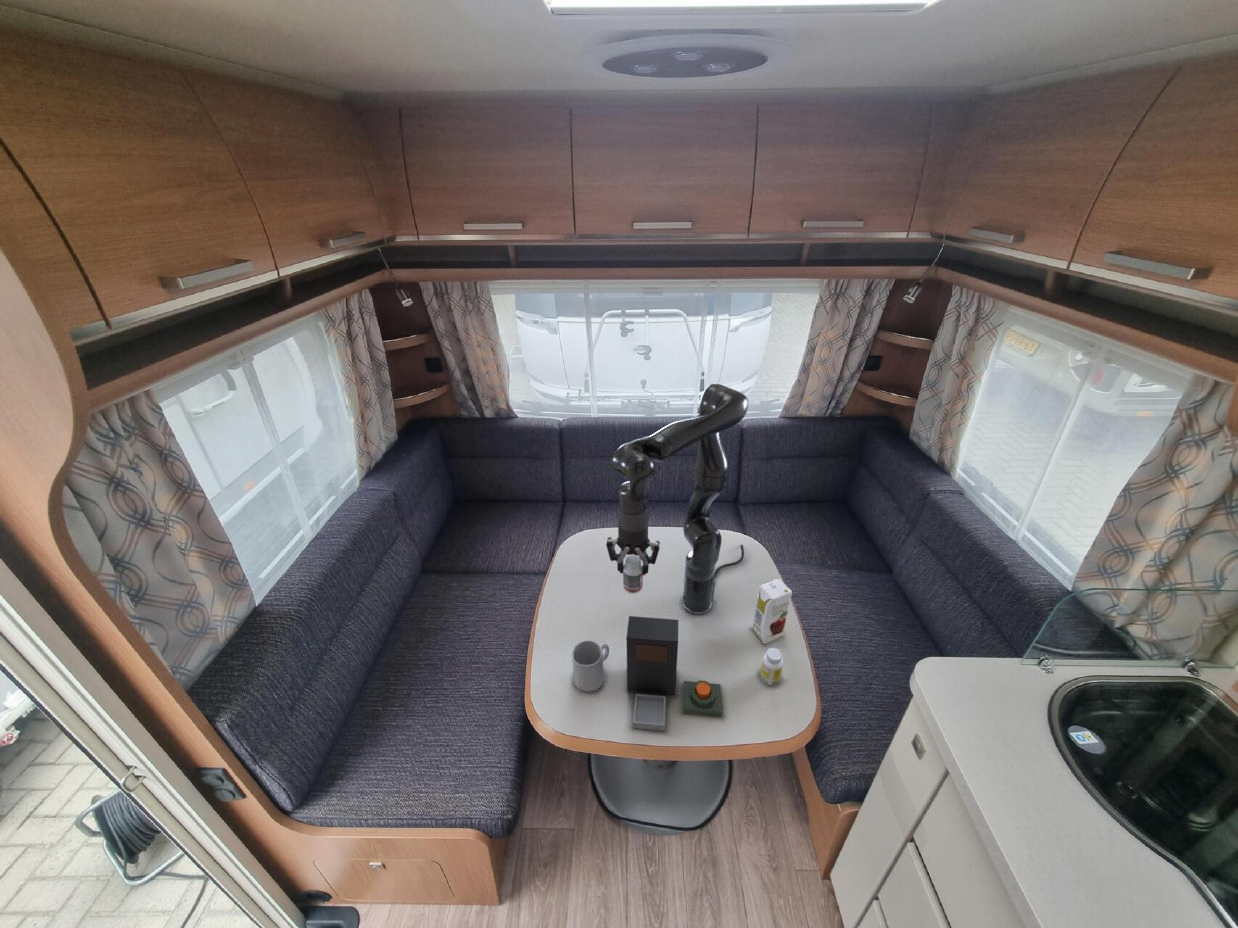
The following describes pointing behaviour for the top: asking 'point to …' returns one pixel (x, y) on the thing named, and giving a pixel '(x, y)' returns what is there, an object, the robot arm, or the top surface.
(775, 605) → the juice carton
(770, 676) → the supplement bottle
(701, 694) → the button
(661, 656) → the coffee maker
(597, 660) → the mug
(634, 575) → the pill bottle
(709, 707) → the button block
